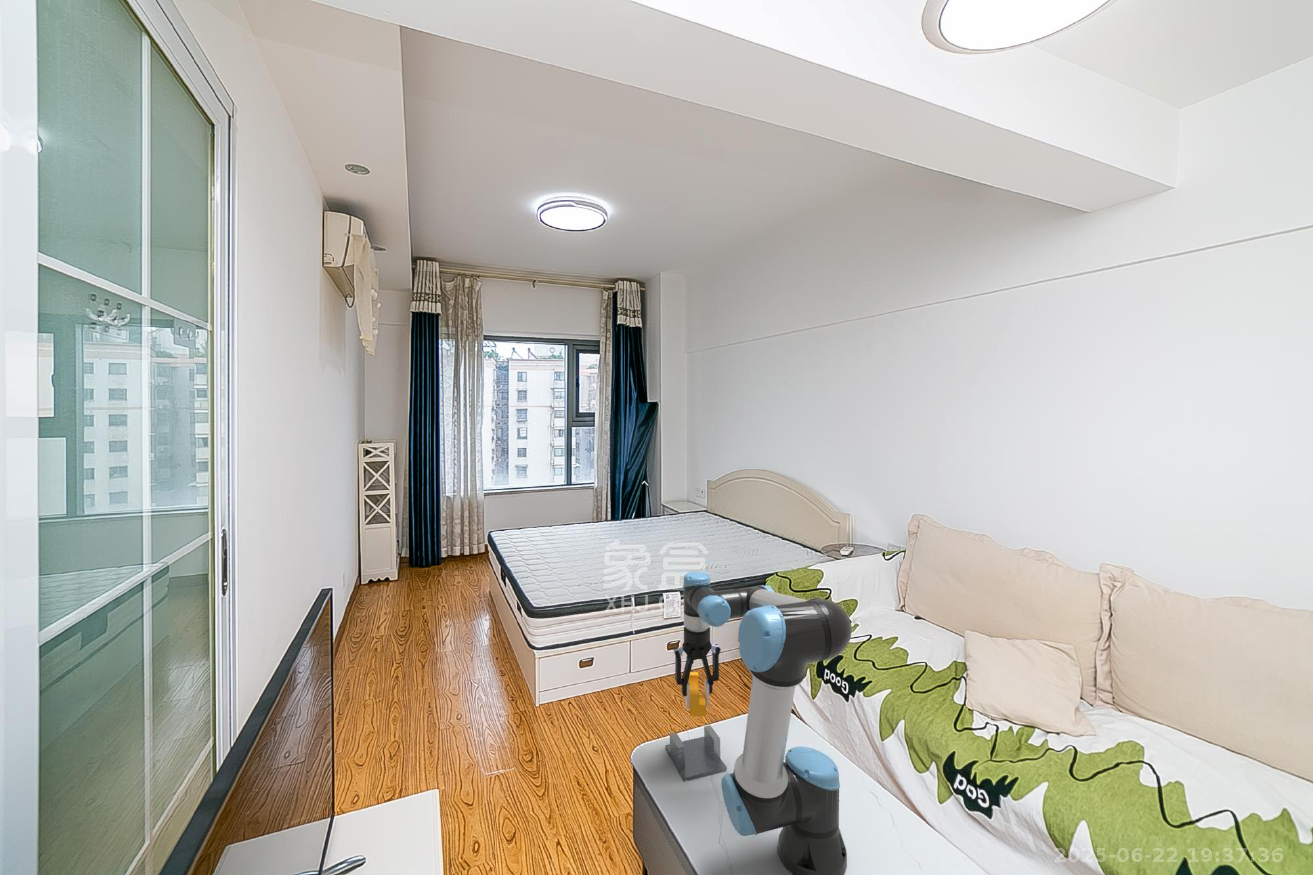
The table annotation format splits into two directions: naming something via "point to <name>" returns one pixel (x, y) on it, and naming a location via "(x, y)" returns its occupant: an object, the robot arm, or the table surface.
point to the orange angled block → (696, 697)
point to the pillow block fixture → (696, 755)
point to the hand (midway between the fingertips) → (697, 704)
